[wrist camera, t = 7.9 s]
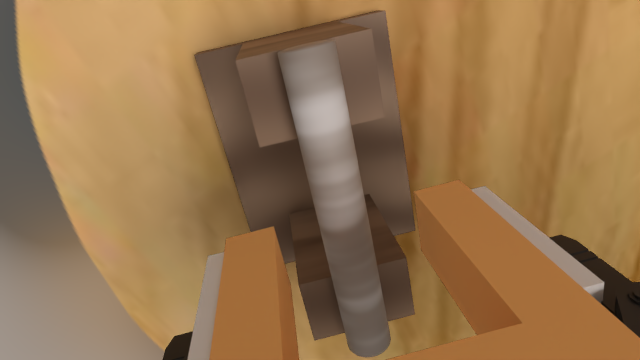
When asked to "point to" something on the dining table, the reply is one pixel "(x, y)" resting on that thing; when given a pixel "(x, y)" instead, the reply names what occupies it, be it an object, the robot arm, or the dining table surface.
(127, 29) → the dining table surface
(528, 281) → the orange open frame
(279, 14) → the dining table surface
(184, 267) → the dining table surface
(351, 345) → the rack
